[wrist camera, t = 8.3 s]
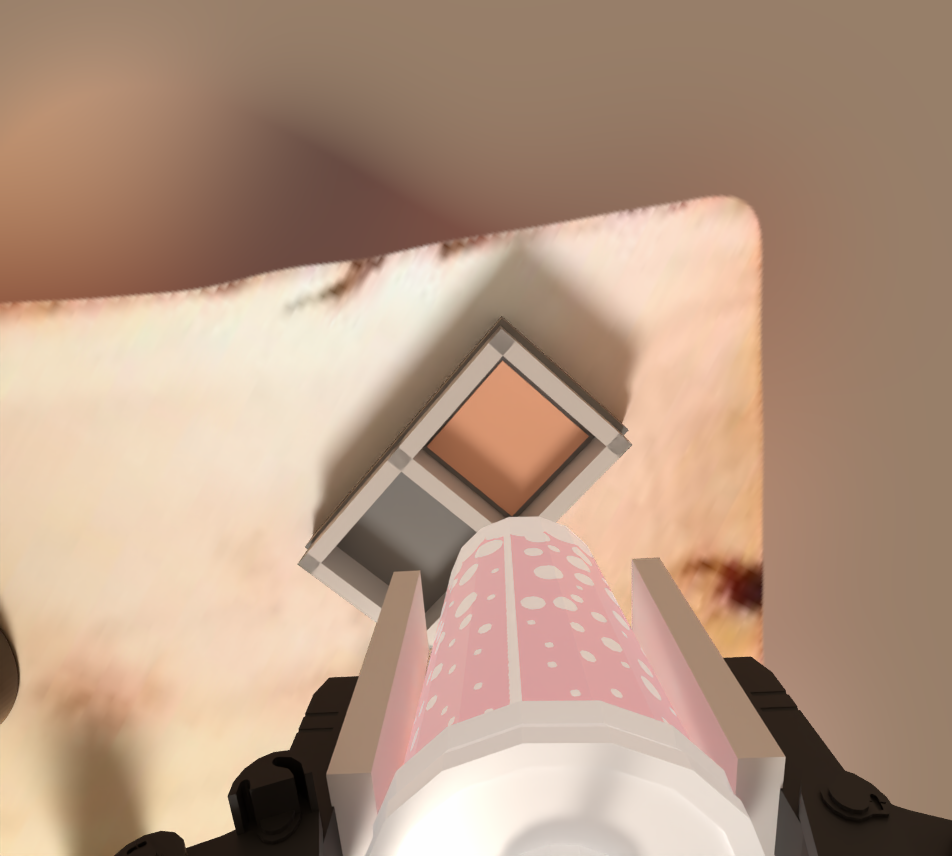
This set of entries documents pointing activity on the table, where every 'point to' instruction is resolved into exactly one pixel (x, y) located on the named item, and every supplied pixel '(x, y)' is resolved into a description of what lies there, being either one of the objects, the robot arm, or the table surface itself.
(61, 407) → the table surface
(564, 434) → the divided tray
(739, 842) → the beverage cup
